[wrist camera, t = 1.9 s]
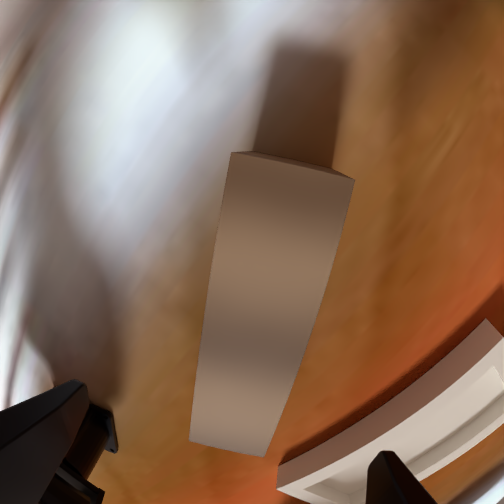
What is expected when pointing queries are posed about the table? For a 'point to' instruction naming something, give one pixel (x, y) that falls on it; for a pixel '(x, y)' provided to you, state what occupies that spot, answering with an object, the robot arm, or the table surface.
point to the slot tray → (410, 425)
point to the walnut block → (263, 294)
